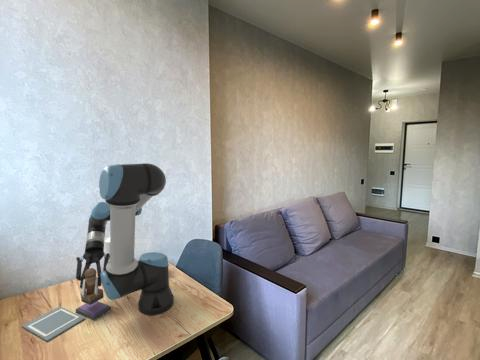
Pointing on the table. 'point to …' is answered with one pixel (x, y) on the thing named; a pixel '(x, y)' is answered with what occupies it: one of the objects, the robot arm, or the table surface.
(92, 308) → the ink pad
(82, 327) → the table surface
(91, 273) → the stamp
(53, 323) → the form board
